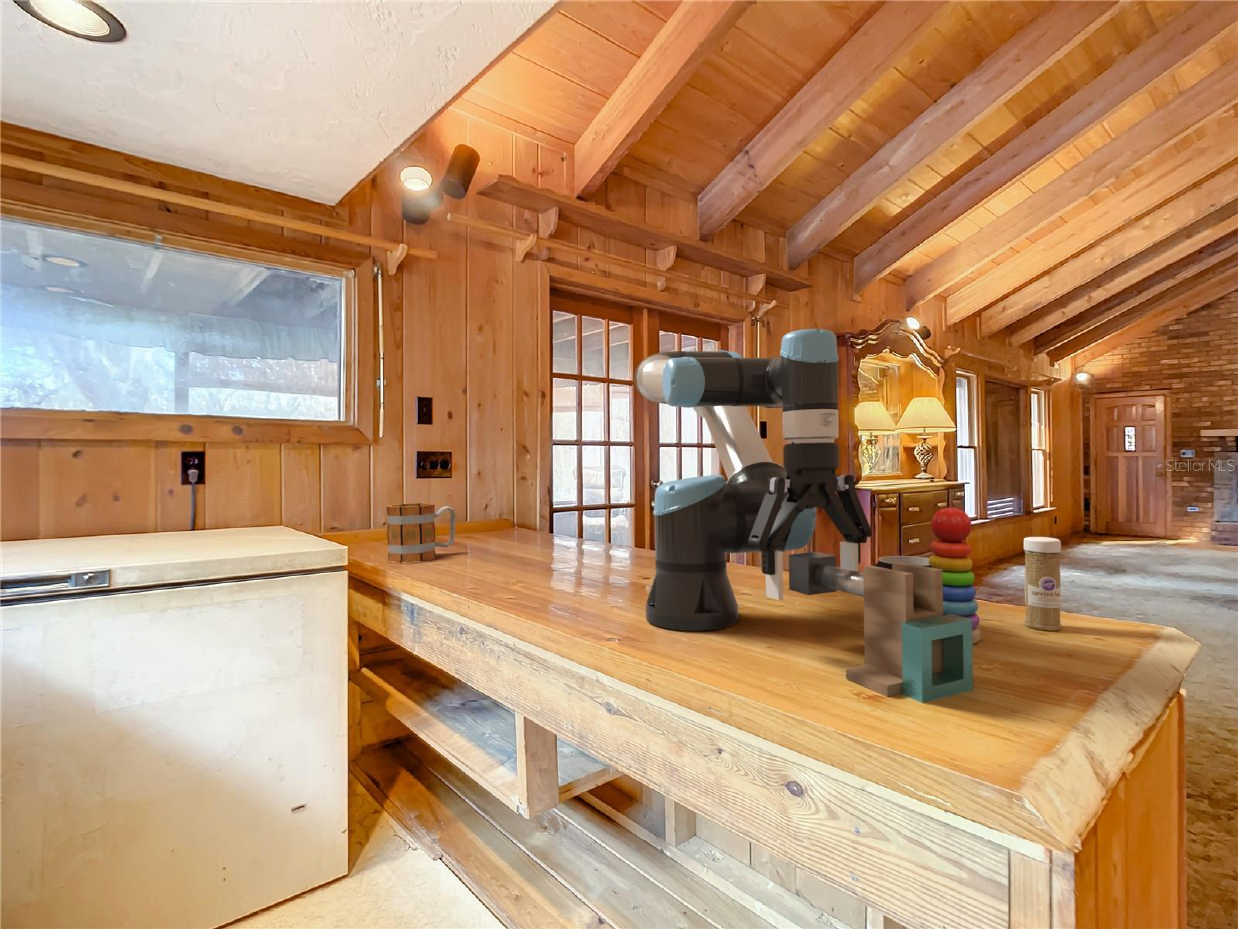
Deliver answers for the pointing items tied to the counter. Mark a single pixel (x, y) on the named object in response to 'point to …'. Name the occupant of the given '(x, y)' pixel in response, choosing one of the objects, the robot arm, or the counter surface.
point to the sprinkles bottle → (1042, 583)
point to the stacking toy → (955, 564)
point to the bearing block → (895, 621)
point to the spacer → (919, 657)
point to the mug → (415, 531)
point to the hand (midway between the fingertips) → (813, 592)
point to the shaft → (822, 575)
